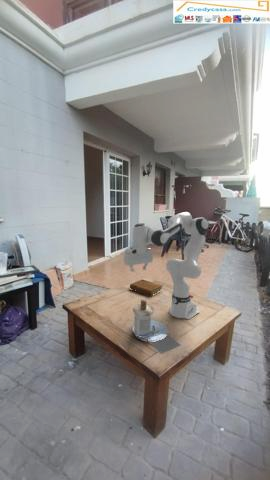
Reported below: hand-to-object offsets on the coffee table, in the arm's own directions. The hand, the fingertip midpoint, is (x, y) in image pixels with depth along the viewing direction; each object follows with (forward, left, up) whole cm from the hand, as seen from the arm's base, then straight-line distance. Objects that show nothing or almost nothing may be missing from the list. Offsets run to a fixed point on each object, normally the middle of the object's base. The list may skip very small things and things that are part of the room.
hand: (138, 270), depth 139 cm
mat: (+1, +28, -34) cm, 44 cm away
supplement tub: (+6, +15, -34) cm, 38 cm away
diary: (-37, -38, -35) cm, 63 cm away
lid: (+6, +15, -20) cm, 25 cm away
